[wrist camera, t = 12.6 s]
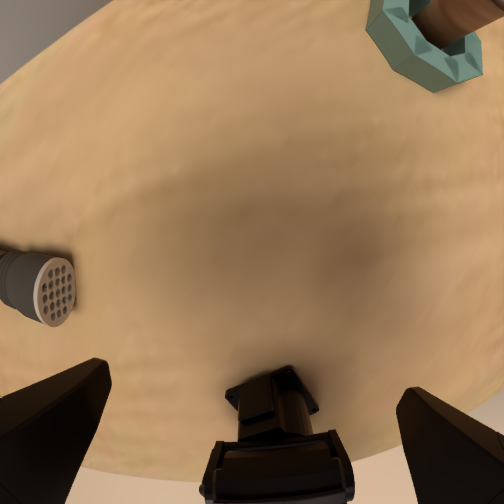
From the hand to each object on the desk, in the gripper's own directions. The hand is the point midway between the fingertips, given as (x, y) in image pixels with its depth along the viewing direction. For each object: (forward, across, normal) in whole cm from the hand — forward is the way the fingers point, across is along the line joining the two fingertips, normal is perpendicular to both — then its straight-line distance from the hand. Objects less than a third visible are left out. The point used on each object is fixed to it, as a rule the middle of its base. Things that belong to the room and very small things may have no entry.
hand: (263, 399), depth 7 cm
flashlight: (+14, +22, +4) cm, 26 cm away
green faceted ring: (+13, -11, -21) cm, 27 cm away
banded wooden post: (+13, -11, -21) cm, 27 cm away
